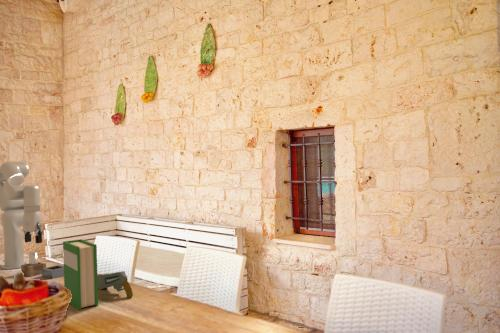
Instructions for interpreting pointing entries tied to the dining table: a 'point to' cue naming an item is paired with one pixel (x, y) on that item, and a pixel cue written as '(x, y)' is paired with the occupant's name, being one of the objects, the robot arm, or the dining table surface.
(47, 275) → the seat block
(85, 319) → the dining table surface
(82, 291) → the hardback book
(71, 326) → the dining table surface
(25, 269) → the bore block
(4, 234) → the robot arm
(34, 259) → the axle
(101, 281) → the gun
